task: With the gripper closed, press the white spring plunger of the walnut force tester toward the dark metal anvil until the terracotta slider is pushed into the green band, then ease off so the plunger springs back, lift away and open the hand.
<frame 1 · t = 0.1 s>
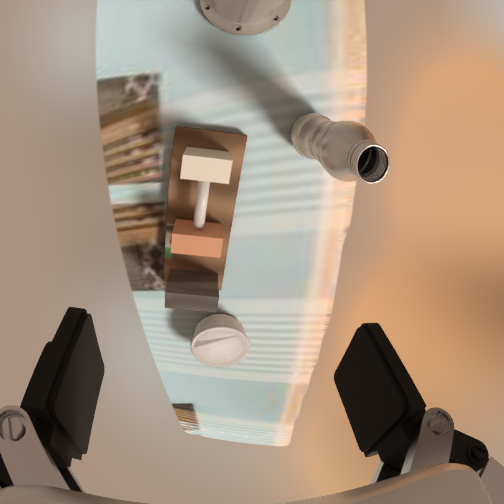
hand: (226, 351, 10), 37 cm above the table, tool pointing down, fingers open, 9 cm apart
plunger: (202, 191, 39), point 5 cm above the table, slide at 0.0 cm
plastic bottle: (308, 133, 42), on the table
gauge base: (199, 213, 46), on the table
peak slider: (192, 237, 43), point 4 cm above the table, slide at 0.0 cm
ramekin: (219, 329, 59), on the table
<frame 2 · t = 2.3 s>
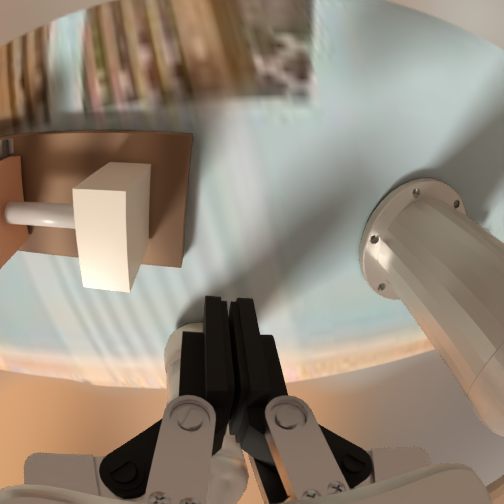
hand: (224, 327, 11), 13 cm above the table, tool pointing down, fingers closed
plunger: (65, 217, 16), point 5 cm above the table, slide at 0.0 cm
plastic bottle: (200, 336, 29), on the table
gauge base: (38, 191, 20), on the table
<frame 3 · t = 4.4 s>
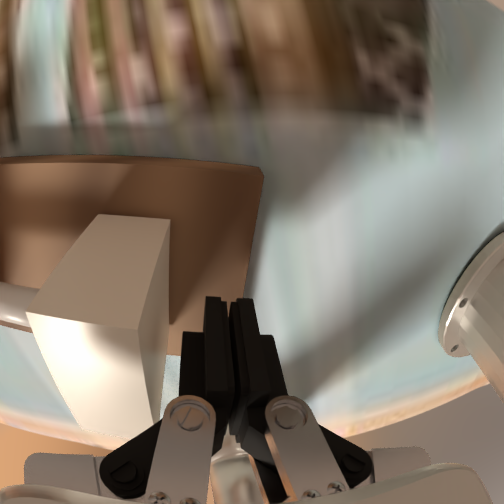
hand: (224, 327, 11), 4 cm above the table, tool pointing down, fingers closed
plunger: (34, 313, 9), point 5 cm above the table, slide at 0.9 cm, touching gripper, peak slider
plastic bottle: (243, 413, 22), on the table
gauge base: (12, 246, 13), on the table
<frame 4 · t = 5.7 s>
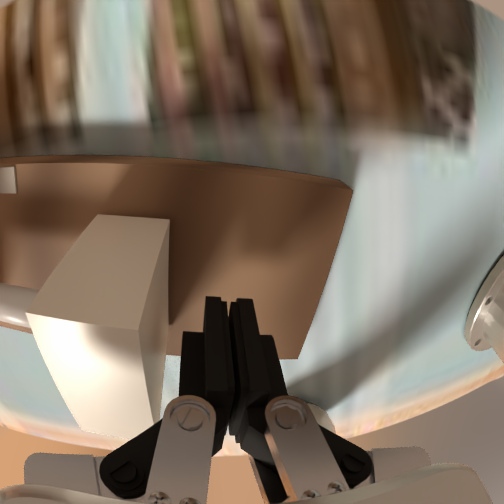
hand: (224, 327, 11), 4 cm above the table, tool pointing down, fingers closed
plunger: (33, 314, 9), point 5 cm above the table, slide at 4.7 cm, touching gripper, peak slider
plastic bottle: (287, 411, 23), on the table
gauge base: (64, 252, 13), on the table
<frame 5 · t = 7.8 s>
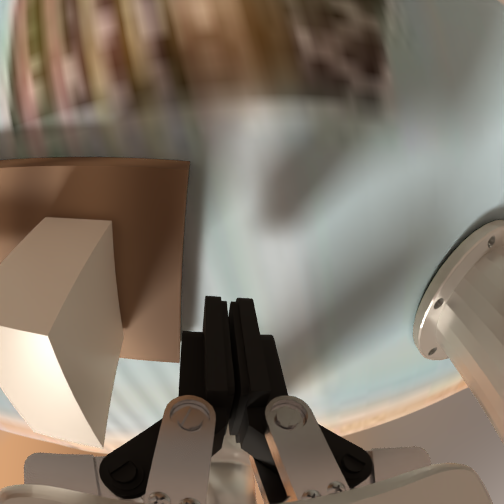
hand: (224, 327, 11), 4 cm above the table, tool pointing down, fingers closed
plastic bottle: (207, 416, 21), on the table
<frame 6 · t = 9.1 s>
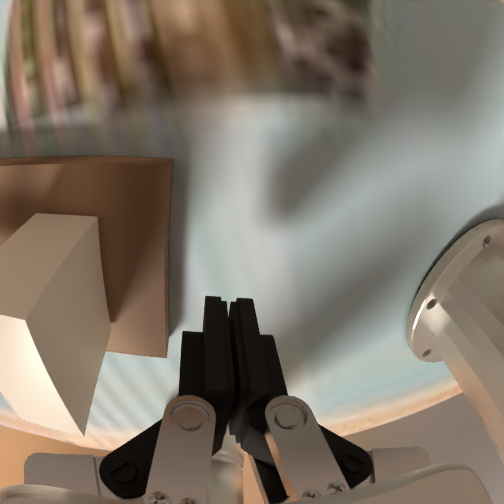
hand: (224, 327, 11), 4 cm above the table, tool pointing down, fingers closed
plastic bottle: (198, 414, 21), on the table
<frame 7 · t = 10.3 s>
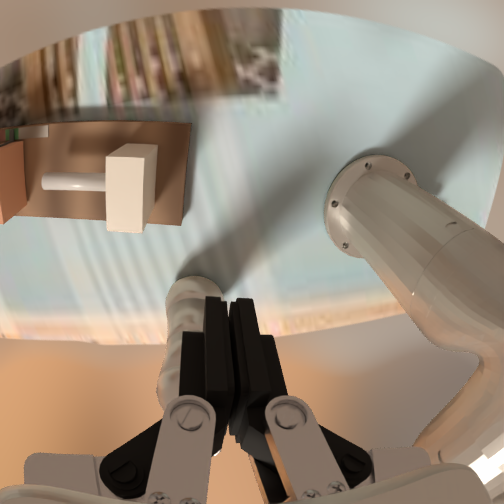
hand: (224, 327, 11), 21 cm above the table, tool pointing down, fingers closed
plunger: (92, 182, 23), point 5 cm above the table, slide at 0.2 cm
plastic bottle: (195, 290, 35), on the table
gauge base: (66, 168, 26), on the table
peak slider: (1, 174, 21), point 4 cm above the table, slide at 4.2 cm
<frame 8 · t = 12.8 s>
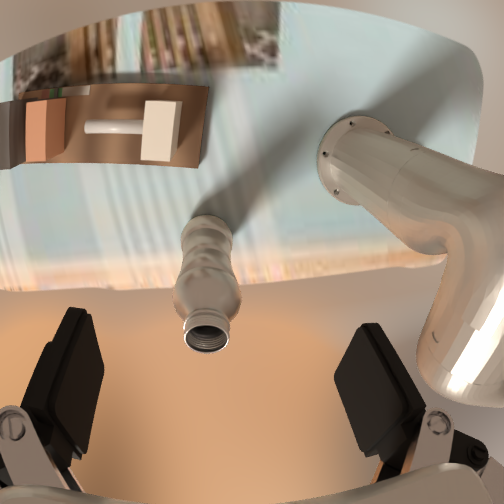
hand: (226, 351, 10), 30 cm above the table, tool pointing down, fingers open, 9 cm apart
plunger: (129, 126, 28), point 5 cm above the table, slide at 0.2 cm
plastic bottle: (207, 231, 41), on the table
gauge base: (102, 122, 31), on the table
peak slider: (45, 122, 26), point 4 cm above the table, slide at 4.2 cm
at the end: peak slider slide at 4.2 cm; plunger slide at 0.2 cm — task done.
